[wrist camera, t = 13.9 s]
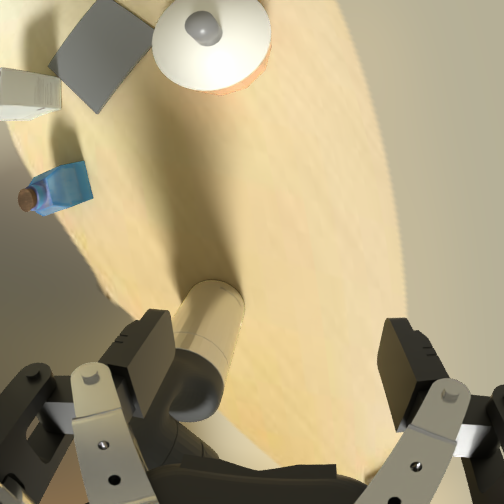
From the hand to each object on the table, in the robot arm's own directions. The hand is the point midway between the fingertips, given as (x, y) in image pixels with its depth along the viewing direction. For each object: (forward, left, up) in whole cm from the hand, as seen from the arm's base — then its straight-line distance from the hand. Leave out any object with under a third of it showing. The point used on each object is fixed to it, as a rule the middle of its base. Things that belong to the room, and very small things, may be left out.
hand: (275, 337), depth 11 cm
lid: (+8, +20, -28) cm, 35 cm away
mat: (-3, +36, -33) cm, 49 cm away
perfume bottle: (-22, +25, -33) cm, 47 cm away
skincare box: (-15, +40, -33) cm, 54 cm away
